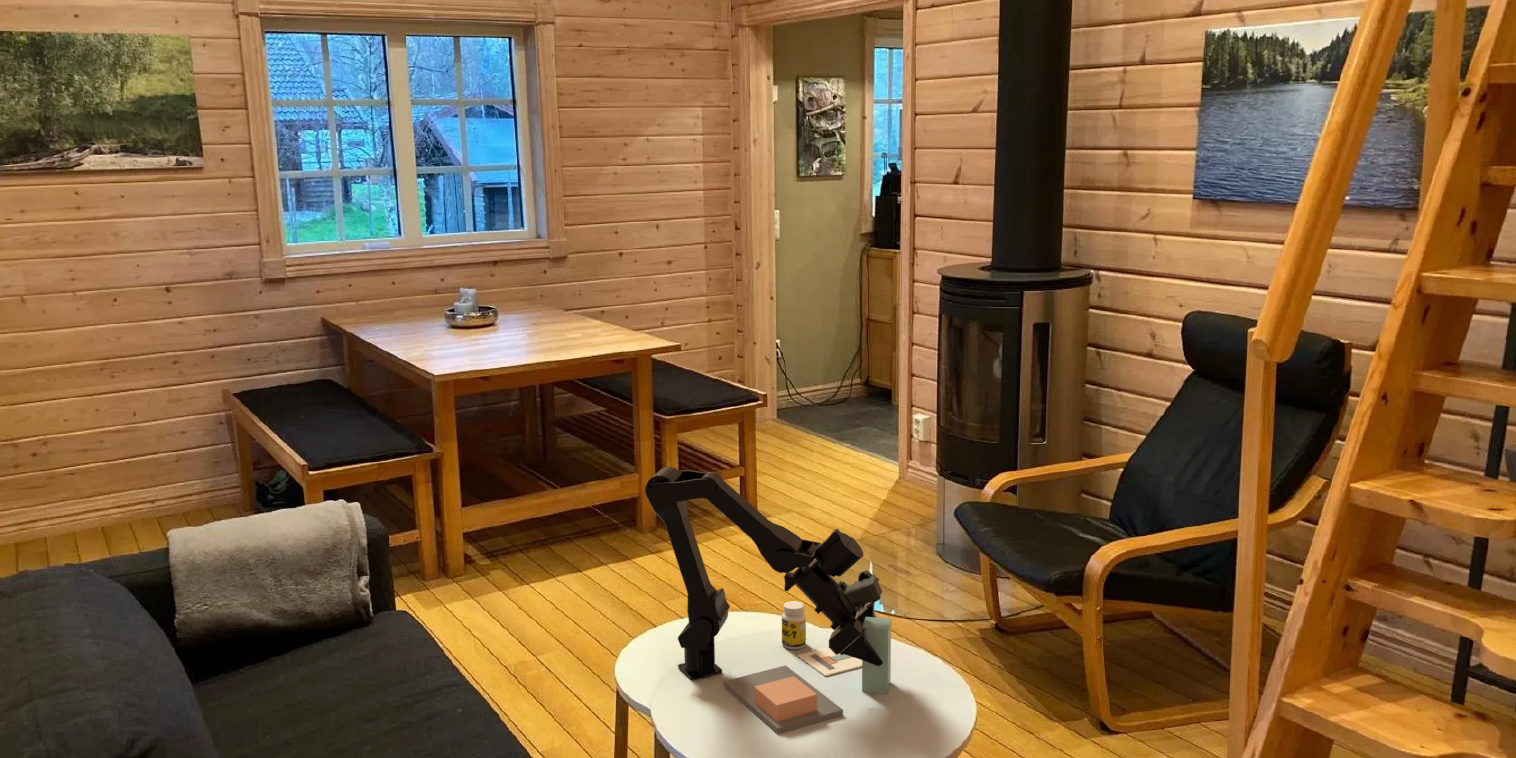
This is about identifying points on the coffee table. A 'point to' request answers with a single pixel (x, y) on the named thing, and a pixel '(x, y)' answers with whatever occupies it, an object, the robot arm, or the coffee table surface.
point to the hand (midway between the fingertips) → (884, 653)
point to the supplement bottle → (793, 625)
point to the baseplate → (774, 675)
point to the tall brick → (881, 642)
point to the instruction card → (830, 661)
